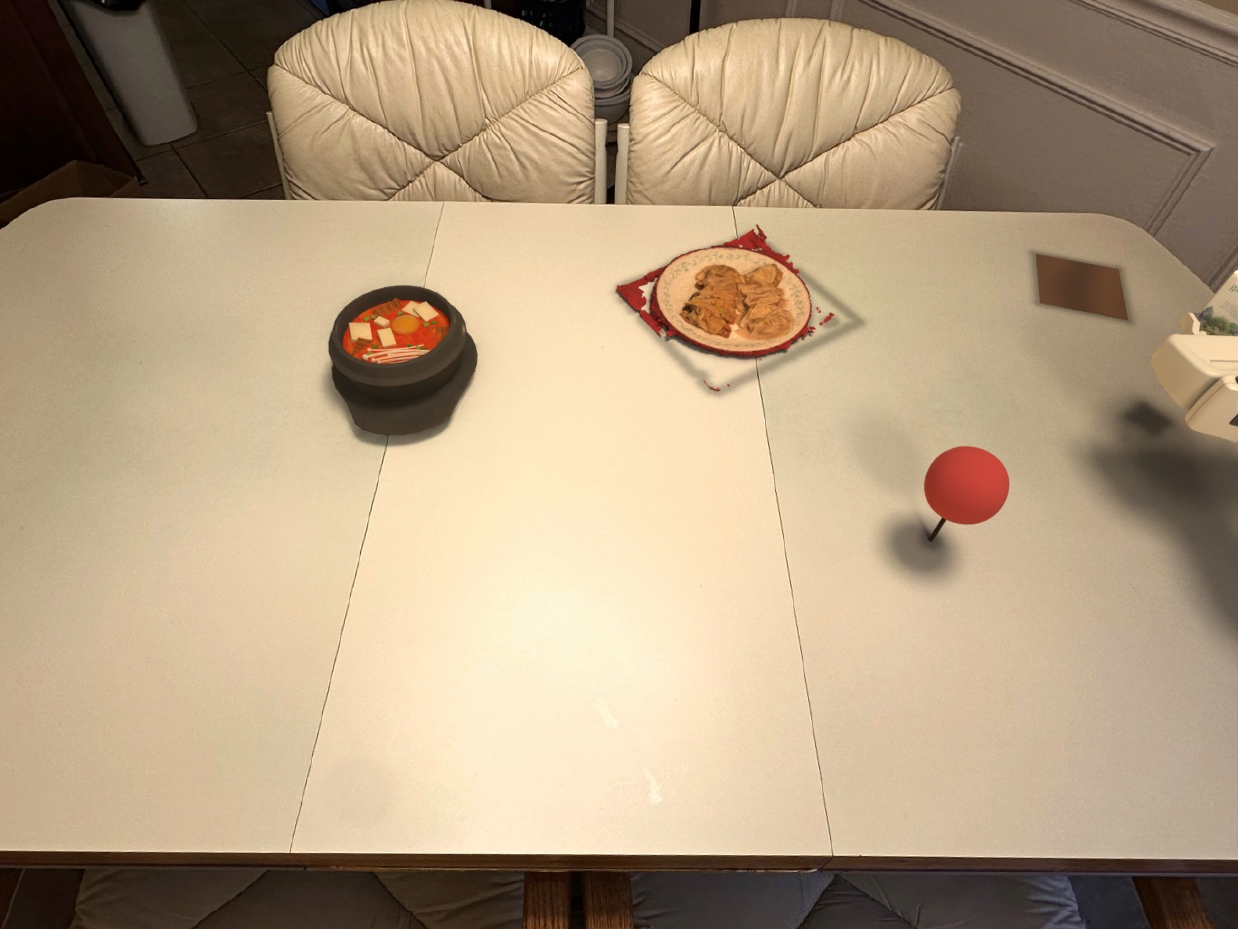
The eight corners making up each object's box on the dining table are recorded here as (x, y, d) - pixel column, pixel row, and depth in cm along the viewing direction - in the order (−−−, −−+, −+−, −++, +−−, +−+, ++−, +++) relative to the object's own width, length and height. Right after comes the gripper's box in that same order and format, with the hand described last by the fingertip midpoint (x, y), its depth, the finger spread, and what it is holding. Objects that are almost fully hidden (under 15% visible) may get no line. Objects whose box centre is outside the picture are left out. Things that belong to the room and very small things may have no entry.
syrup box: (1223, 379, 88) (1317, 280, 76) (1196, 399, 86) (1289, 300, 74) (1178, 350, 91) (1262, 251, 79) (1150, 369, 88) (1233, 270, 77)
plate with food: (614, 296, 108) (614, 277, 105) (752, 236, 116) (755, 217, 114) (713, 400, 96) (716, 382, 94) (858, 326, 105) (865, 307, 102)
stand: (1115, 274, 113) (1118, 268, 113) (1124, 325, 106) (1128, 319, 105) (1033, 258, 115) (1036, 253, 114) (1036, 308, 108) (1040, 302, 107)
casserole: (483, 437, 91) (473, 390, 85) (327, 452, 89) (305, 406, 83) (476, 303, 106) (468, 254, 99) (343, 314, 104) (325, 265, 98)
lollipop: (967, 530, 84) (1027, 448, 73) (954, 584, 80) (1016, 506, 68) (900, 505, 86) (948, 421, 74) (884, 556, 82) (933, 476, 70)
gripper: (1426, 393, 71) (1344, 298, 80) (1213, 386, 71) (1154, 292, 80) (1372, 435, 76) (1300, 341, 85) (1173, 428, 76) (1121, 336, 85)
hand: (1228, 318), depth 82 cm, fingers closed on syrup box, 7 cm apart
